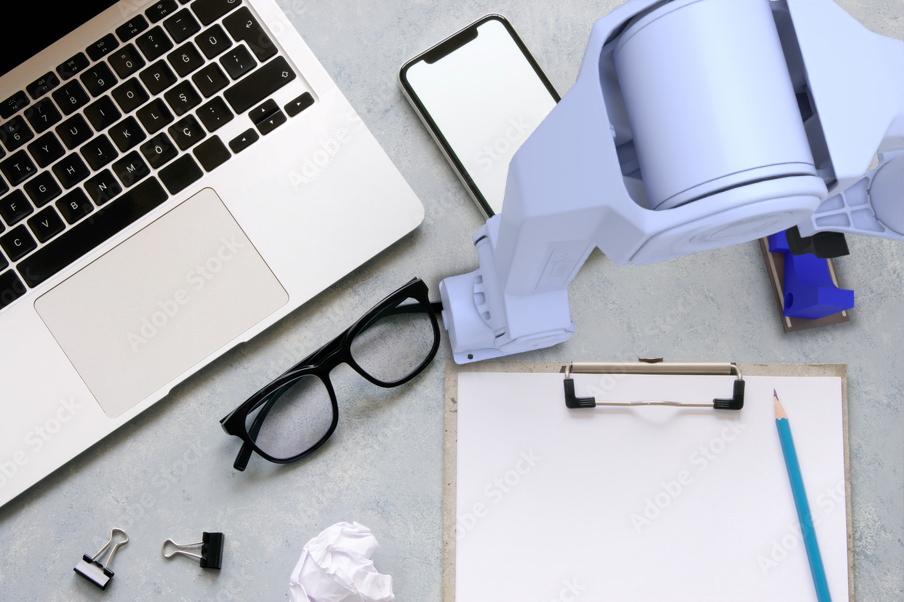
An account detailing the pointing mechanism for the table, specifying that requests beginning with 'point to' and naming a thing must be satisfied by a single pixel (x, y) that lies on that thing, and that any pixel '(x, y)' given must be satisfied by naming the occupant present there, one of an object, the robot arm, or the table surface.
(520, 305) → the robot arm
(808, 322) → the inlay
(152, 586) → the table surface
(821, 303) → the cable clip
